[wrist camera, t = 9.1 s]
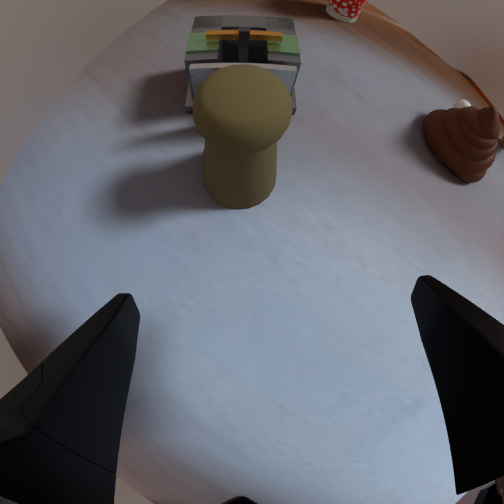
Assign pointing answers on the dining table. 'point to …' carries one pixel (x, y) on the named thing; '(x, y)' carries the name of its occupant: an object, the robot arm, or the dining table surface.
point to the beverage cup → (345, 9)
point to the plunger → (242, 56)
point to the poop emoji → (464, 138)
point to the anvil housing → (228, 49)
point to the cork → (241, 132)
